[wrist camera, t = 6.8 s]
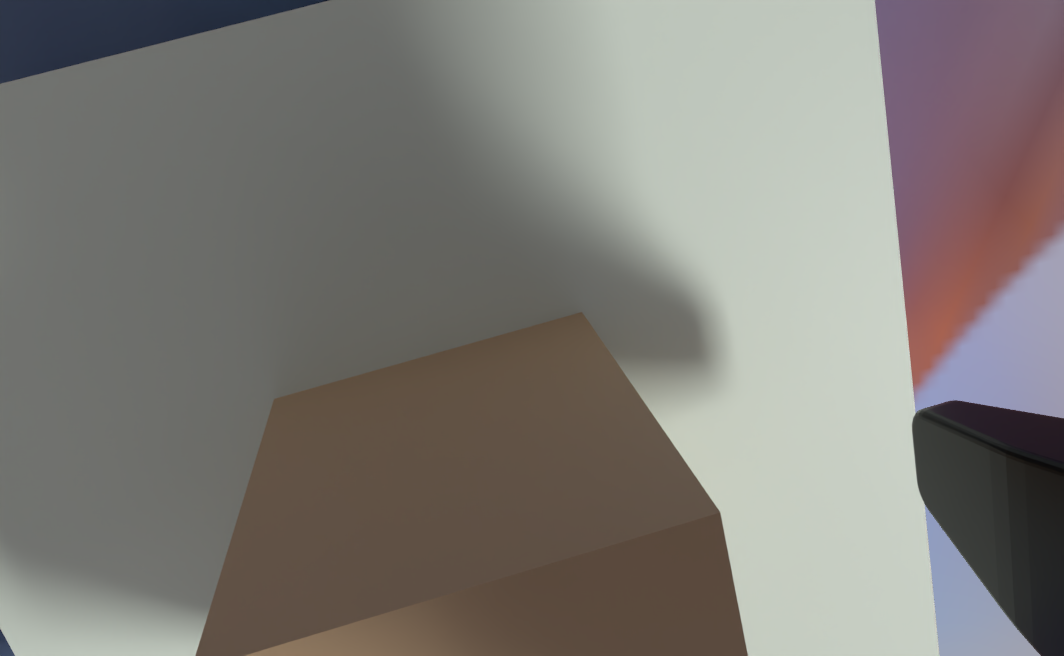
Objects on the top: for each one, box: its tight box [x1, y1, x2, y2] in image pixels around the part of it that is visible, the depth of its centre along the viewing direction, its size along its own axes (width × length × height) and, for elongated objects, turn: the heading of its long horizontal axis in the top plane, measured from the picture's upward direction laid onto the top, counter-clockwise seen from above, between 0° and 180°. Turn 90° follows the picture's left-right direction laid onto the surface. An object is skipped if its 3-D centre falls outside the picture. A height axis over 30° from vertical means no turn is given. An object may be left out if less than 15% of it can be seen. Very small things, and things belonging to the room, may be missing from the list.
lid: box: [0, 0, 939, 656], centre depth 9 cm, size 11×11×5 cm
